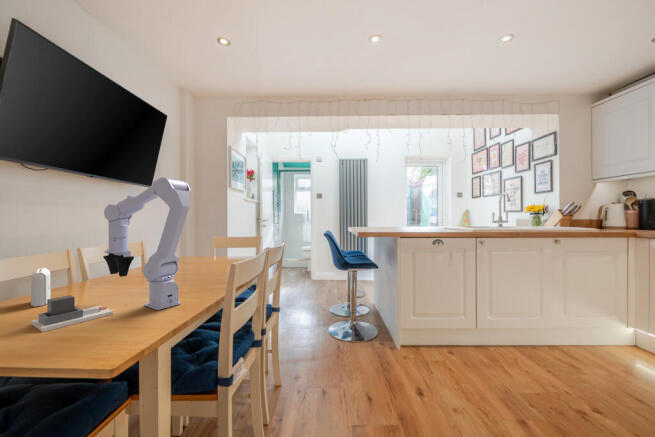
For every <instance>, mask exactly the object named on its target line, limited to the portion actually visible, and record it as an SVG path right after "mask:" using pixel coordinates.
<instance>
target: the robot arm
mask: <svg viewBox="0 0 655 437" xmlns="http://www.w3.org/2000/svg"><path fill="white" fill-rule="evenodd" d="M189 185H190V184H188V182H186V181H185V180H178V179H177V180H176V179H172V178H166V177H159V178H158V179H156V180H154V181H152V185H150V186H149V187H148V188H146V189H145V190H143V191H142V192H141V193H139V194H138V195H135V194H133V195H132V194H129V195H127V197H126V198H125V199H123V200H122V201H118V203H116V204H108V205H106V207H105V208H104V211H103V216H104V218H105V219H106V220H107V221H108V223H107V224H108V248H106V250H104V253H105V254H107V255H103V259H104V260H105V262H106V265H107V268H108V270H109V274H110V275H117V274H118V276H119V277H121V278H122V277H127V276H128V273H129V269H130V267H131V264H132V262H133V260H134V259H135V256H132V254H131V253H132V252H131V250H130V249H129V226H130V223H131V219H132V217H133V215H134V214H136V213H138V212H139V211H141V210H143V209H144V208H145V205H146V204H147V203H149V202H151V201H153V200H155V199H157V198H160V199H161V200H162V201H163V202H164V203H165V204H166V205H167V206H168V208H169V210H168V214H167V216H166V220H165V223H164V227H163V231H162V233H161V237H160V240H159V244H158V247H157V249H156V251H155V252H154V253H152V254H151V255H150V256H149V258H148V259H147V262H146V263H145V264H144V266H143V269H142V273H143V276H144V278H145V279H146V281H147V282H148V288H149V290H148V294H149V296H148V301H149V302H146V303H143V306H144V307H147V308H150V309H153V310H156V311H160V310H163V309H167V308H171V307H174V306H178V305H181V304H182V302H181V301H179V285H178V283H177V282H175V281H174V278H175V276H176V274H177V273H178V271H179V260H180V258H179V256H178V255H177V254H176V252H177V247H178V245H179V241H180V238H181V235H182V233H183V228H184V225H185V222H186V219H187V216H188V212H189V210H190V197H191V193H192V189H191V188H190V186H189Z"/></svg>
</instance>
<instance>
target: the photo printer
mask: <svg viewBox="0 0 655 437" xmlns="http://www.w3.org/2000/svg"><path fill="white" fill-rule="evenodd" d="M51 293H52V292H51V271H50V270H49V269H48V268H46V267H41V268H40V267H39V268H37V269H36V270H34V271H33V272H32V273H31V275H30V305H31V307H35V308H36V307H42V306H45V305H47V299H51Z"/></svg>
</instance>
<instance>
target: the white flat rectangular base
mask: <svg viewBox="0 0 655 437" xmlns="http://www.w3.org/2000/svg"><path fill="white" fill-rule="evenodd" d="M111 315H114V310H112V309H110V308H108V307H107V306H106V305H104V306H103V305H98V306H92V307H89V308H83V309H82V308H80V307H78V306H75V311H73V312H69V313H64V314H60V315H55V316H51V317H48V316H47V311H46V312H45V311H44V312H40V313H38V316H37V318H38V319H35V320H31V325H32V326H34V327H35V328H36V329H37V330H39V331H40V332H42V333H43V332H48V331H51V330H55V329H60V328H64V327H69V326H71V325H76V324H80V323H85V322H88V321H92V320H97V319H99V318H104V317H107V316H111Z"/></svg>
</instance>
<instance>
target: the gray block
mask: <svg viewBox="0 0 655 437" xmlns="http://www.w3.org/2000/svg"><path fill="white" fill-rule="evenodd" d="M75 300H76V299H75V296H73V295H71V294H70V295H65V296H58V297H53V298H50V299H47V304H46V306H47V307H46V308H47V309H46V310H47V311H46V312H47V316H48V317H51V316H55V315H60V314H64V313H69V312H73V311H75Z"/></svg>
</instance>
